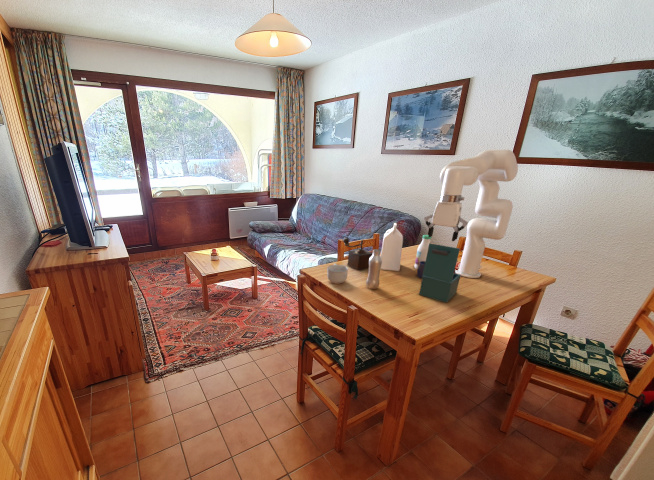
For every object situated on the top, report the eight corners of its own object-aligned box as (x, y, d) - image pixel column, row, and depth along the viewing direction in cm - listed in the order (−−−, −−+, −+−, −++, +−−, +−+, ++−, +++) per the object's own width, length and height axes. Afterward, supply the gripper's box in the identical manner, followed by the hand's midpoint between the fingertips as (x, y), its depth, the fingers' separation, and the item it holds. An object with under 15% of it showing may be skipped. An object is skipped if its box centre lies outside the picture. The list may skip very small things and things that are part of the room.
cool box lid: (429, 243, 141) (425, 245, 137) (460, 248, 133) (456, 250, 129) (423, 275, 147) (418, 277, 143) (451, 282, 139) (448, 285, 135)
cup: (421, 273, 176) (423, 260, 173) (431, 277, 171) (434, 263, 168) (414, 275, 173) (416, 262, 170) (424, 279, 168) (427, 265, 165)
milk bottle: (429, 267, 186) (435, 235, 178) (426, 271, 180) (433, 237, 172) (415, 265, 190) (421, 233, 182) (412, 268, 184) (418, 236, 176)
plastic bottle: (378, 286, 160) (384, 249, 152) (378, 291, 154) (383, 253, 146) (366, 284, 162) (370, 247, 154) (365, 289, 156) (369, 251, 148)
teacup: (346, 286, 160) (348, 271, 157) (325, 284, 162) (326, 270, 159) (346, 276, 172) (348, 263, 169) (327, 275, 174) (328, 261, 171)
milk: (399, 270, 180) (406, 227, 170) (378, 268, 184) (384, 225, 174) (399, 264, 191) (405, 222, 181) (379, 262, 194) (385, 221, 184)
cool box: (429, 285, 160) (433, 268, 156) (456, 293, 152) (460, 274, 148) (419, 294, 150) (422, 276, 147) (446, 302, 142) (451, 283, 139)
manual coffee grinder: (360, 262, 194) (363, 234, 187) (371, 268, 185) (375, 238, 178) (339, 266, 188) (341, 237, 181) (350, 272, 179) (353, 241, 172)
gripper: (475, 199, 126) (465, 240, 133) (431, 196, 137) (424, 233, 144) (470, 202, 121) (460, 244, 128) (425, 197, 132) (418, 236, 139)
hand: (441, 238), depth 136 cm, fingers open, 9 cm apart
